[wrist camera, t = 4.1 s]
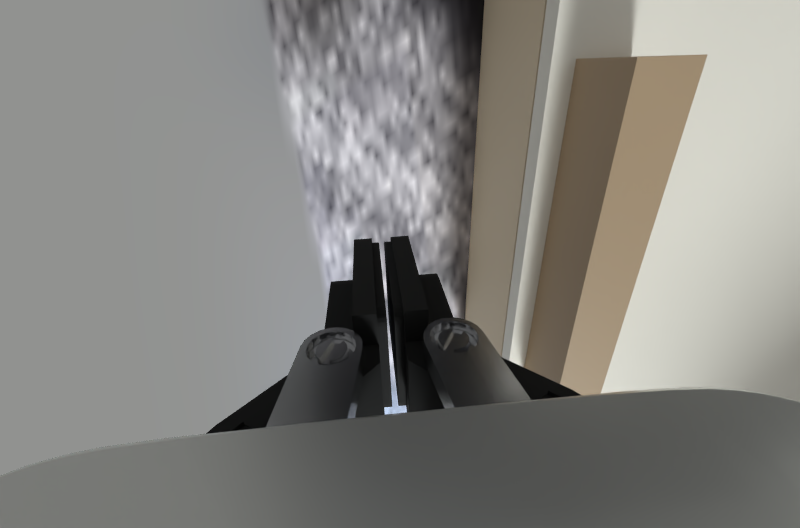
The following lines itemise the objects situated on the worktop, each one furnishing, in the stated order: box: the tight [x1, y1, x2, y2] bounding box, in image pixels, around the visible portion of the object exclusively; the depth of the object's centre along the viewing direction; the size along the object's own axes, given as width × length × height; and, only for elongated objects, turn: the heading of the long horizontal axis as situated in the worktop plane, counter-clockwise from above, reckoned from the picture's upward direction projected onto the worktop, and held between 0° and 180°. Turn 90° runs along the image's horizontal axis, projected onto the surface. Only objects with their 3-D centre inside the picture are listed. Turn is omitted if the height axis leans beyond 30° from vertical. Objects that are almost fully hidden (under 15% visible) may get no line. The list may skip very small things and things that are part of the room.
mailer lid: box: [502, 0, 800, 402], centre depth 13 cm, size 16×20×3 cm
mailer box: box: [465, 0, 547, 357], centre depth 17 cm, size 16×20×6 cm
